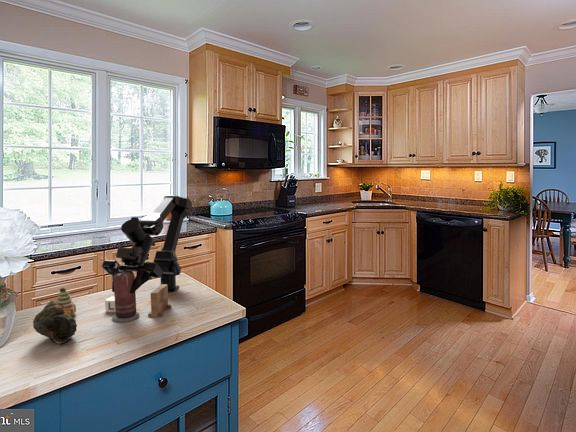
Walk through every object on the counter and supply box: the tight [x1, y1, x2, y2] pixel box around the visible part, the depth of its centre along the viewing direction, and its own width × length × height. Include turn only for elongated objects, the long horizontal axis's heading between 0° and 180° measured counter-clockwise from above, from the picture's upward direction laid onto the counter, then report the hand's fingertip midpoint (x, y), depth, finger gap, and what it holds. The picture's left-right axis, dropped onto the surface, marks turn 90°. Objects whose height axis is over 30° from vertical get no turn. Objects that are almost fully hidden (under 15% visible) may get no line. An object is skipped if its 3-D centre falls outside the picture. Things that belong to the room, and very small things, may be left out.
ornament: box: [50, 287, 77, 319], centre depth 117 cm, size 8×6×10 cm
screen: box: [147, 284, 173, 318], centre depth 123 cm, size 9×4×8 cm, turn 176°
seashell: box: [32, 299, 78, 345], centre depth 101 cm, size 11×11×10 cm
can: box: [113, 271, 137, 318], centre depth 117 cm, size 6×6×14 cm
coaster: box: [111, 311, 140, 324], centre depth 118 cm, size 8×8×1 cm
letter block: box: [104, 295, 116, 313], centre depth 124 cm, size 4×4×4 cm
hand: (122, 292), depth 116 cm, fingers open, 6 cm apart
